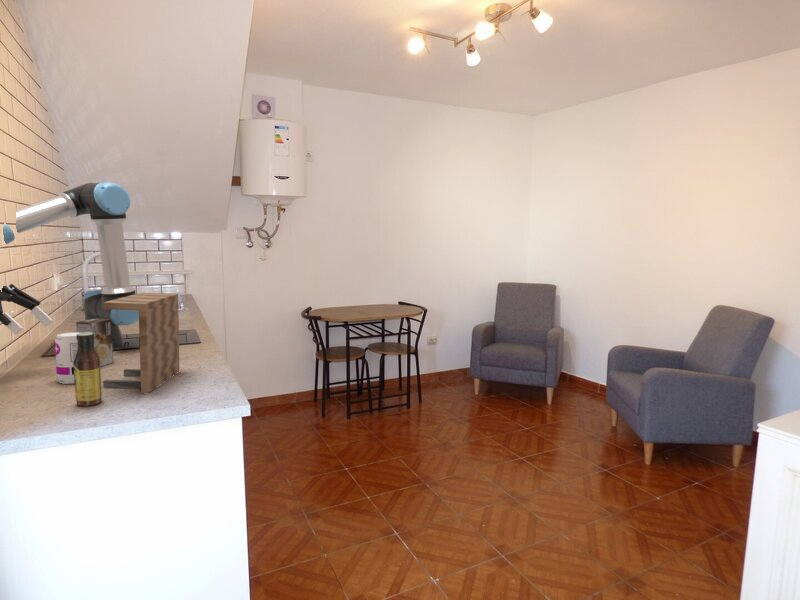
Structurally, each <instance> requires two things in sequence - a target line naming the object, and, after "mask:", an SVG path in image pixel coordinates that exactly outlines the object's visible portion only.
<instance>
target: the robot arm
mask: <svg viewBox="0 0 800 600" xmlns="http://www.w3.org/2000/svg"><path fill="white" fill-rule="evenodd" d="M130 206H131V197H130V195H129V193H128V191H127V190H126V188H124V187H123V186H121V185H119V184H118V183H116V182H108V181H104V182H103V181H102V182H87V183H84V184H82V185H81V184H80V185H78V186H76V187H73V188H71V189H68V190H66V191H62V192H60V193H58V196H56V197H53V198H51V199H50V198H49V199H47V200H43V201H40V202H37V203H35V204H31V205H26V206H25V207H22V208H18V209H16V210H17V211H16V219H15V220H16V229H17V232H18V234H21V233H24V232H26V231H30V230H33V229H36V228H38V227H41V226H44V225H47V224H50V223H53V222H55V221H58V220H62V219H64V218H67V217H70V218H76V217H78V216H79V217H80V216H83V215H84V216H85V215H89V216H90V220H91V221H92V222H93V223H94V224H95V226H96V232H97V233H96V234H97V240H98V246H99V254H100V260H101V268H102V275H103V283H104V288H103V289H95V290H86V291H85V292H84V294H83V304H84V305H83V306H84V307H83V308H84V309H83V310H84V320H89V319H94V318H104V319H111V321H112V341H113V349H114V348H119V347H122V346H124V345H125V339H124V336H123V334H122V333H123V332H121V328H120V326H131V325H134V324H135V323H137V322H139V310H108V309H103V302H107V301H111V300H115V299H119V298H123V297H127V296H131V295H134V294H137V292H136V288H134V287H133V285H131V282H130V281H131V280H130V274H129V273H130V272H129V265H128V257H127V251H126V250H127V249H126V242H125V235H124V234H125V233H124V225H123V223H124V222H125V221H126V220H127V211H128V210H129V208H130ZM3 235H4V241H5V243H6V244H7V245H8V244H10V243H12V242H14V241H15V239H16V235H14V233H13V231H12V230H11V229H10V227H9V226H8V225H7V224H6V223H4V227H3ZM2 302H8V303H14V304H16V305H18V306H21V307H23V308H24V309H26V310H27V309H28V310H30V313H31V314H32V315H33V316H34V317H35V318H36V319H37V320H38V321H40V323H41V324H42V325H43V326H44V327H47V326H49V325H50V324H51V323H52V322H53V319H52V318H51V317H50V316H49V315H48V314H47V313H46V312H45V311H44V310H42V308H40V306H39V305H41V301H39V300H38V299H36V298H34V297H33V296H31V295H30V294H28V293H26V292H24V291H23V290H21V289H19V287H17V286H16V285H14V284H13V283H10V284H9V285H8V286H6V285H5V286H3V288H2V292H1V290H0V322H1V323H2V324H3V325H4V326H5V327H6V329H9V331H11V332H12V333H13V334H14V335H15V336H16V335H18V334H19V333H20V332H21V331H22V330H23V329H24V327H23V326H22V325H20V324H19V323H18V321H16V320H15V319H14V318H13V317H12V316H11V315H10V314H9V313H8V312H6V311H5V312H4V309H3V304H2Z"/></svg>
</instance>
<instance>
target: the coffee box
mask: <svg viewBox="0 0 800 600" xmlns="http://www.w3.org/2000/svg"><path fill="white" fill-rule="evenodd" d="M75 325H76V332H82V333H84V332H92V333H94V339H93V341H94V350H95V351H96V353H97V354H98V355H99V358H100V368H101V367H104V366H106V365H110V364H113V363H114V348H113V341H112V321H111V319H104V318H94V319H89V320H85V319H83V320H79V321H76V323H75Z"/></svg>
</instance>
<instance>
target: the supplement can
mask: <svg viewBox="0 0 800 600" xmlns="http://www.w3.org/2000/svg"><path fill="white" fill-rule="evenodd" d="M78 333H82V332H77V331H69V332H61V333H58V334H56V337H55V339H54V352H55V353H54V354H55V371H56V381H57V383H59V384H61V383H62V384H61V385H75V383H74V367H73V362H74V359H75V356H76V354H77V351H78V349H77V348H78V341H77V339H76V335H77V334H78Z"/></svg>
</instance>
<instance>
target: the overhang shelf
mask: <svg viewBox="0 0 800 600" xmlns="http://www.w3.org/2000/svg"><path fill="white" fill-rule="evenodd" d="M103 309H108V310H139V319H138V331H139V332H138V333H139V334H138V335H139V366H140V368H125V369H123V376H124V377H140V380H133V379H132V380H131V379H130V380H125V379H105V380H103V381H102V387H103V388H106V389H110V388H111V389H140V394H141V393H149V392H150V391H152V390H153V389H154V390H156V389H157V388H158V387H157V386H159V385H160V384H162V383H163V382H164V381H166V380H167V379H169V378H170V377H171V378H173V377H174V376H176V375H177V374H178V373H177V372H179V371H180V328H179V327H180V326H179V325H180V324H179V322H180V321H179V315H180V314H179V293H167V292H166V293H161V292H157V293H156V292H139V293H136V294H134V295H131V296H127V297H123V298H119V299H115V300H111V301H107V302H103ZM180 372H181V371H180ZM180 372H179V373H180ZM176 373H177V374H176ZM175 374H176V375H175ZM173 375H174V376H173ZM172 376H173V377H172ZM171 378H170V379H171ZM170 379H169V380H170ZM167 381H168V380H167ZM167 381H166V382H167ZM164 383H165V382H164ZM164 383H163V384H164ZM163 384H162V385H163ZM160 386H161V385H160ZM160 386H159V387H160ZM156 387H157V388H156ZM103 388H102V389H103ZM155 388H156V389H155ZM154 390H153V391H154ZM153 391H152V392H153ZM150 393H151V392H150ZM150 393H149V394H150Z"/></svg>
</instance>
